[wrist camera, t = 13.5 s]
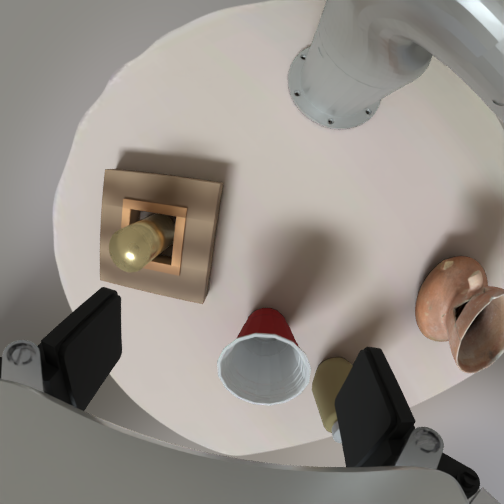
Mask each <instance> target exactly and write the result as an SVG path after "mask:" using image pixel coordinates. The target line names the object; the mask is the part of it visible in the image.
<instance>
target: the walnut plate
mask: <svg viewBox="0 0 504 504" xmlns="http://www.w3.org/2000/svg"><path fill="white" fill-rule="evenodd" d="M222 189H223V183H221V182H215V181H208V180H202V179H195V178H188V177H180V176H173V175H165V174H157V173H149V172H140V171H131V170H121V169H105V176H104V186H103V197H102V211H101V230H100V280H102V281H106V282H110V283H113V284H117V285H121V286H125V287H129V288H133V289H137V290H142V291H146V292H150V293H154V294H158V295H163V296H167V297H172V298H176V299H181V300H185V301H190V302H195V303H200V304H203V303H204V301H205V299H206V296H207V292H208V284H209V277H210V269H211V262H212V255H213V248H214V241H215V234H216V227H217V221H218V214H219V208H220V201H221V195H222ZM140 211H146V212H153V213H159V214H165V215H171V216H176V224H175V233H174V242H173V252H172V257H171V256H166V255H161V254H159V255H158V256H156V257H155V258H154V259H153V260H152V261H150V262H149V263H148V264H147V265H146V266H144V267H143V268H142V269H141V270H139V271H137V272H125V271H123V270H121V269H120V268H118V267H117V266H116V265H115V264H114V262H113V261H112V259H111V256H110V253H109V242H110V239H111V237H112V235H113V234H114V233H115V232H116V231H118V230H119V229H122V228H124V227H126V226H128V225H130V224H133V223H135V222H137V221H139V216H140Z"/></svg>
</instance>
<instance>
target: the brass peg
mask: <svg viewBox="0 0 504 504" xmlns="http://www.w3.org/2000/svg"><path fill="white" fill-rule="evenodd" d="M174 233H175V225H174V223H173V221H172V220H171V219H170V218H169V217H168V216H166V215H164V214H154V215H151V216H149V217H146V218H144V219H142V220H140V221H137V222H135V223H133V224H130V225H128V226H126V227H124V228H122V229H119V230H118V231H116V232H115V233H114V234H113V235H112V237H111V239H110V242H109V253H110V256H111V259H112V261H113V262H114V264H115V265H116V266H117V267H118V268H120V269H121V270H123V271H125V272H137V271H139V270H141V269H142V268H143V267H144V266H146V265H147V264H148V263H149V262H150V261H152V260H153V259H154V258H155V257H156V256H158V255H159V254H160V253H161V252H163V251H164V250H165V249H166V248H167V247H169V246H170V245H171V244H172V243H173V241H174Z"/></svg>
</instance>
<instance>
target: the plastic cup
mask: <svg viewBox="0 0 504 504" xmlns="http://www.w3.org/2000/svg"><path fill="white" fill-rule="evenodd" d="M217 366H218V376H219V378H220V380H221V381H222V383H223V385H224V387H225V388H226V389H227V390H228V391H229V392H231V393H232V394H233V395H234V396H236V397H237V398H239V399H241V400H244V401H247V402H249V403H252V404H258V405H275V404H280V403H285V402H288V401H289V400H291V399H293V398H295V397H296V396H298V395H300V394H301V392H302V391H303V390H304V388H305V387H306V386H307V384H308V383H309V379H310V373H311V367H310V364H309V362H308V359H307V356H306V354H305V353H304V352H303V351H302V350H301V349H300V347H299V346H298V344H297V343H296V341H295V339H294V336H293V334H292V332H291V329H290V327H289V325H288V324H287V322H286V320H285V318H284V316H283V315H282V314H280V313H279V312H278V311H277V310H274V309H272V308H261V309H258V310H256V311H254V312H253V313H252V314H251V315H250V316H249V317H248V319H247V321H246V323H245V324H244V326H243V328H242V330H241V331H240V333H239V335H238V337H237V339H236V340H234V341H233V342H232V343H230V344H229V345H228V346H226V347H225V348H224V349H223V351H222V353H221V355H220V357H219V359H218V361H217Z"/></svg>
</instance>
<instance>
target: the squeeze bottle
mask: <svg viewBox="0 0 504 504" xmlns="http://www.w3.org/2000/svg"><path fill="white" fill-rule="evenodd" d="M352 366H353V365H352V364H351V363H349V362H348V361H347V360H345V359H344V358H339V357H335V358H330V359H327V360H325V361H324V362H322V363H321V364H320V365H319V367H318V368H317V370H316V373H315V377H314V380H313V383H312V392H313V395H314V398H315V401H316V404H317V407H318V410H319V413H320V416H321V419H322V422H323V425H324V427H325V429H326V430H327V431H328V432H331V433H332V435H333V439H334V440H335V441H336V442H338V443H342V441H341V436H340V430H339V425H338V420H337V415H336V410H335V405H334V404H335V399H336V396H337V395H338V393H339V391H340V389H341V387H342V385H343V384H344V382H345V380H346V378H347V376H348V374H349V372H350V370H351V368H352Z"/></svg>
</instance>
